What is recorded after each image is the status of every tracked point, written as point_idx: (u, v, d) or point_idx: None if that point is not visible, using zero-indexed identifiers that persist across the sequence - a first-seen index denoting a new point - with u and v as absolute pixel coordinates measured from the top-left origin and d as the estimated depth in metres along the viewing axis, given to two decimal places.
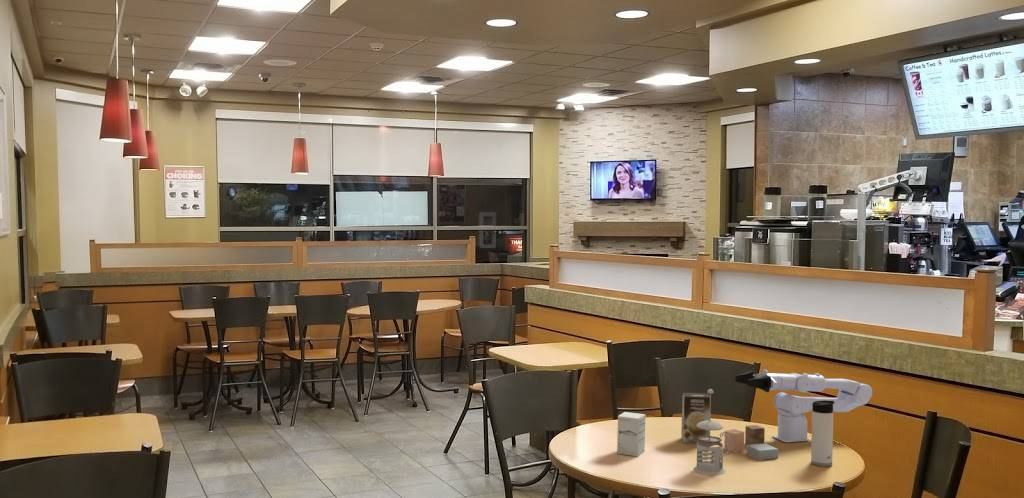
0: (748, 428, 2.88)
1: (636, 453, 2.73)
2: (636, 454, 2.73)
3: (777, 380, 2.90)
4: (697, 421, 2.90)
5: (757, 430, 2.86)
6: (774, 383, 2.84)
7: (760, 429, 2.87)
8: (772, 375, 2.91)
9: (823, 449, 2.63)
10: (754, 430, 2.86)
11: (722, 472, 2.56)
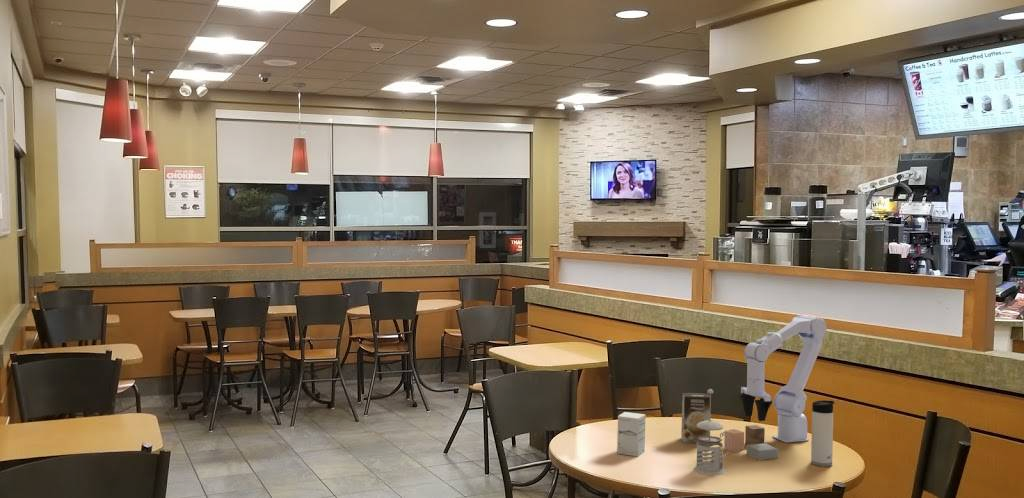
0: (748, 428, 2.88)
1: (636, 453, 2.73)
2: (636, 454, 2.73)
3: (758, 384, 2.85)
4: (697, 421, 2.90)
5: (757, 430, 2.86)
6: (766, 400, 2.81)
7: (760, 429, 2.87)
8: (752, 387, 2.86)
9: (823, 449, 2.63)
10: (754, 430, 2.86)
11: (722, 472, 2.56)
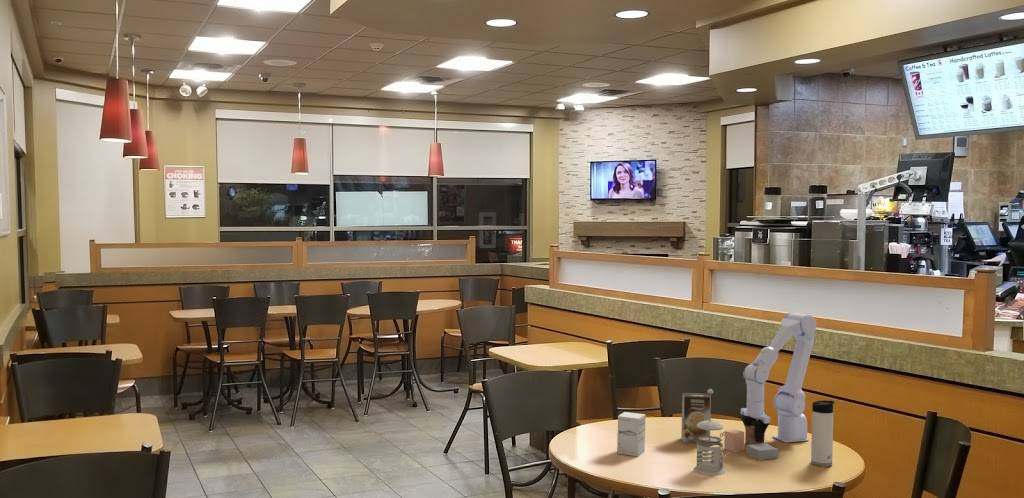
0: (748, 428, 2.88)
1: (636, 453, 2.73)
2: (636, 454, 2.73)
3: (757, 406, 2.86)
4: (697, 421, 2.90)
5: None
6: (766, 422, 2.81)
7: None
8: (751, 409, 2.86)
9: (823, 449, 2.63)
10: (754, 430, 2.86)
11: (722, 472, 2.56)
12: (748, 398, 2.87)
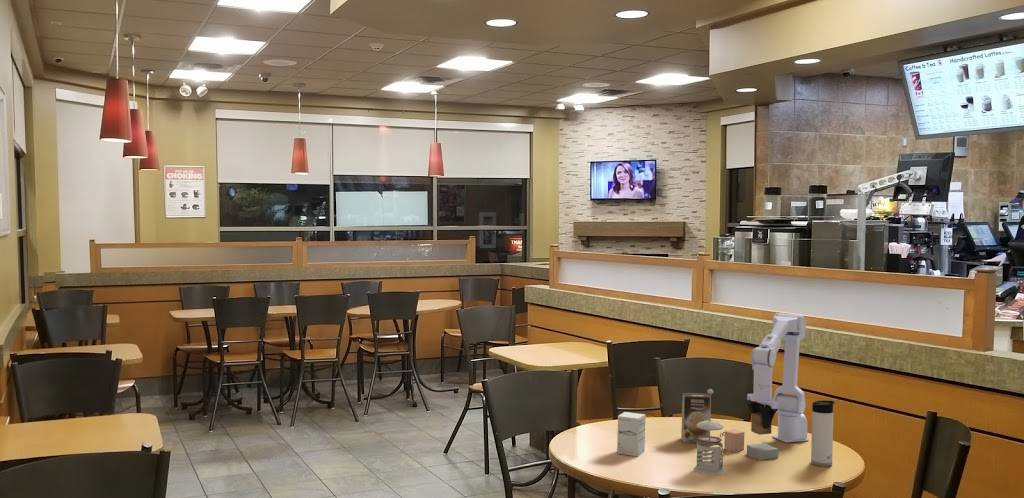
0: (754, 415, 2.75)
1: (636, 453, 2.73)
2: (636, 454, 2.73)
3: (765, 390, 2.72)
4: (697, 421, 2.90)
5: None
6: (774, 407, 2.68)
7: None
8: (759, 394, 2.73)
9: (823, 449, 2.63)
10: (760, 417, 2.72)
11: (722, 472, 2.56)
12: (758, 383, 2.73)
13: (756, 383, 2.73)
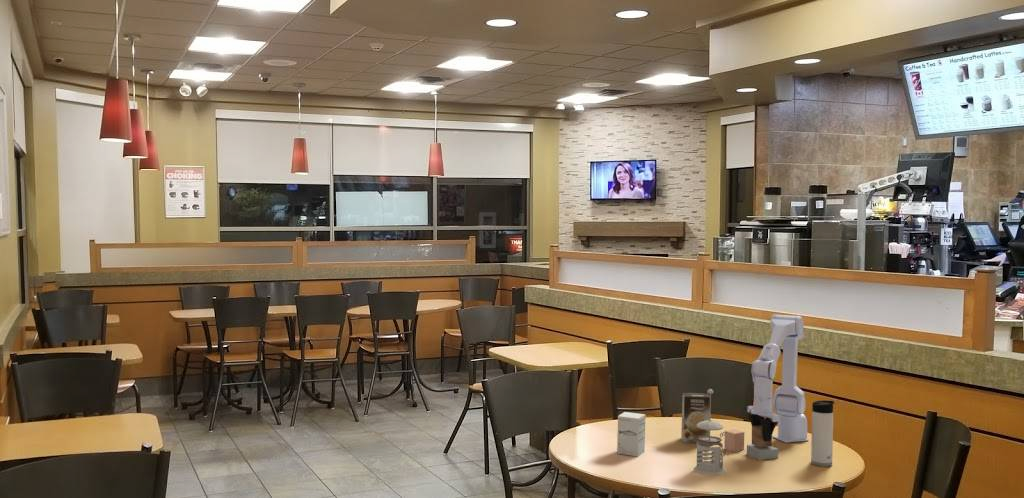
0: (755, 428, 2.74)
1: (636, 453, 2.73)
2: (636, 454, 2.73)
3: (765, 403, 2.71)
4: (697, 421, 2.90)
5: None
6: (774, 420, 2.67)
7: None
8: (759, 407, 2.72)
9: (823, 449, 2.63)
10: (761, 430, 2.72)
11: (722, 472, 2.56)
12: (759, 396, 2.72)
13: (756, 396, 2.72)
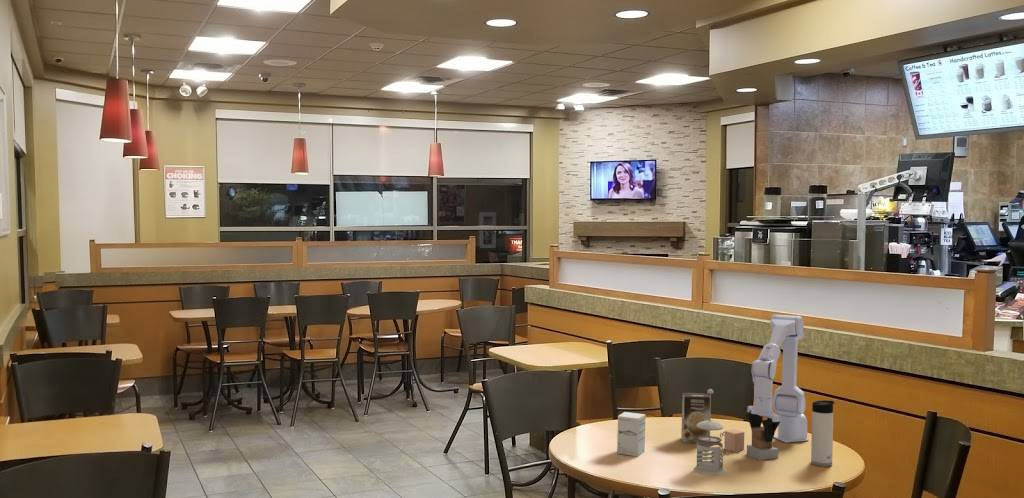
0: (755, 430, 2.74)
1: (636, 453, 2.73)
2: (636, 454, 2.73)
3: (765, 403, 2.71)
4: (697, 421, 2.90)
5: (764, 432, 2.72)
6: (774, 420, 2.67)
7: None
8: (759, 407, 2.72)
9: (823, 449, 2.63)
10: (761, 432, 2.72)
11: (722, 472, 2.56)
12: (759, 396, 2.72)
13: (756, 396, 2.72)
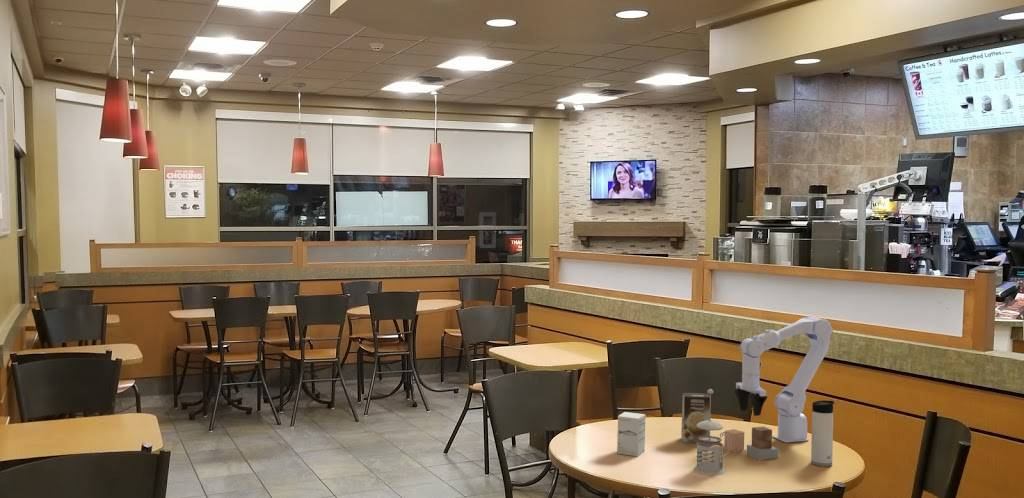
0: (755, 430, 2.74)
1: (636, 453, 2.73)
2: (636, 454, 2.73)
3: (753, 379, 2.89)
4: (697, 421, 2.90)
5: (764, 432, 2.72)
6: (762, 395, 2.85)
7: (767, 431, 2.72)
8: (747, 383, 2.90)
9: (823, 449, 2.63)
10: (761, 432, 2.72)
11: (722, 472, 2.56)
12: (742, 371, 2.92)
13: (742, 371, 2.92)
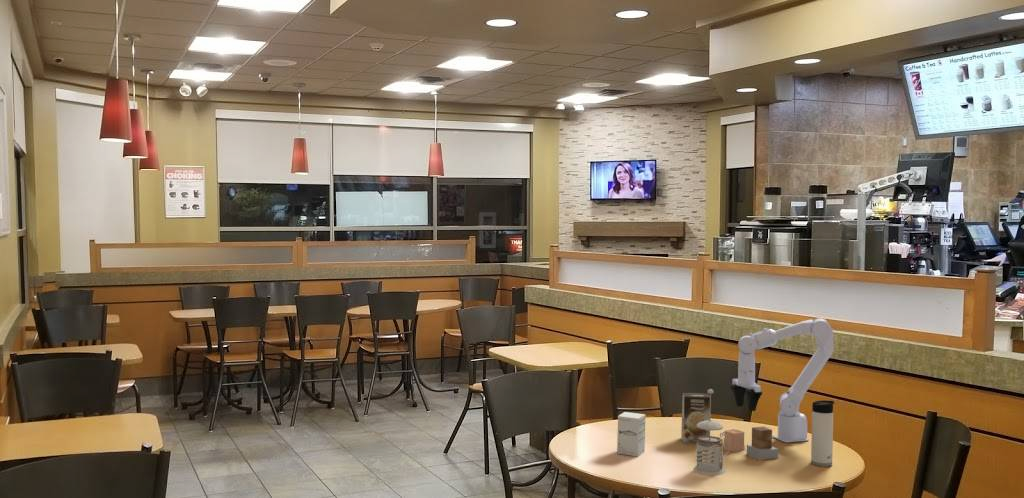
0: (755, 430, 2.74)
1: (636, 453, 2.73)
2: (636, 454, 2.73)
3: (748, 375, 2.96)
4: (697, 421, 2.90)
5: (764, 432, 2.72)
6: (756, 390, 2.92)
7: (767, 431, 2.72)
8: (743, 379, 2.96)
9: (823, 449, 2.63)
10: (761, 432, 2.72)
11: (722, 472, 2.56)
12: (738, 367, 2.99)
13: None
